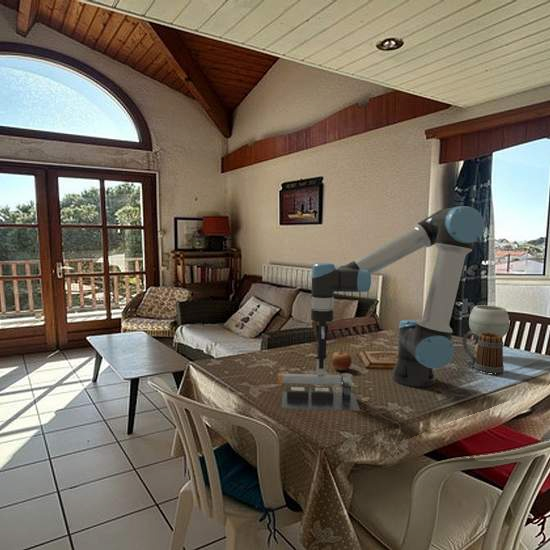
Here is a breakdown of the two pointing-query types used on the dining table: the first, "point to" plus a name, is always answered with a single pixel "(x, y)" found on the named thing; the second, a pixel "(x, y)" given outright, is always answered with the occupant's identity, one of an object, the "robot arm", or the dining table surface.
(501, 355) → the mug
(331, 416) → the dining table surface
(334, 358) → the apple
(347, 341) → the dining table surface
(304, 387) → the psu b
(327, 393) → the power supply
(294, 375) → the cable arm
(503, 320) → the planter
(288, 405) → the chassis
